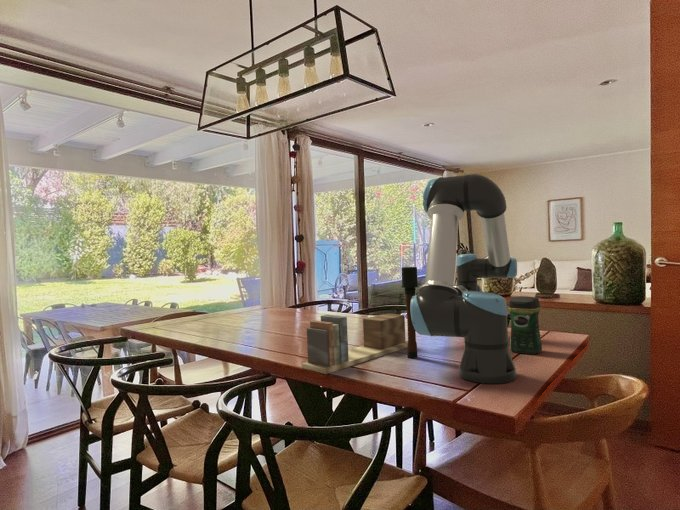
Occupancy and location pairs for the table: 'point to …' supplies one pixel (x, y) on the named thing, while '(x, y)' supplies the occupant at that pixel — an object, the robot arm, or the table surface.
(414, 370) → the table surface
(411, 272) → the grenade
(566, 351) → the table surface
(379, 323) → the bookend
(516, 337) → the coffee jar
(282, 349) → the table surface
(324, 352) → the book rack
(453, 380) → the table surface
